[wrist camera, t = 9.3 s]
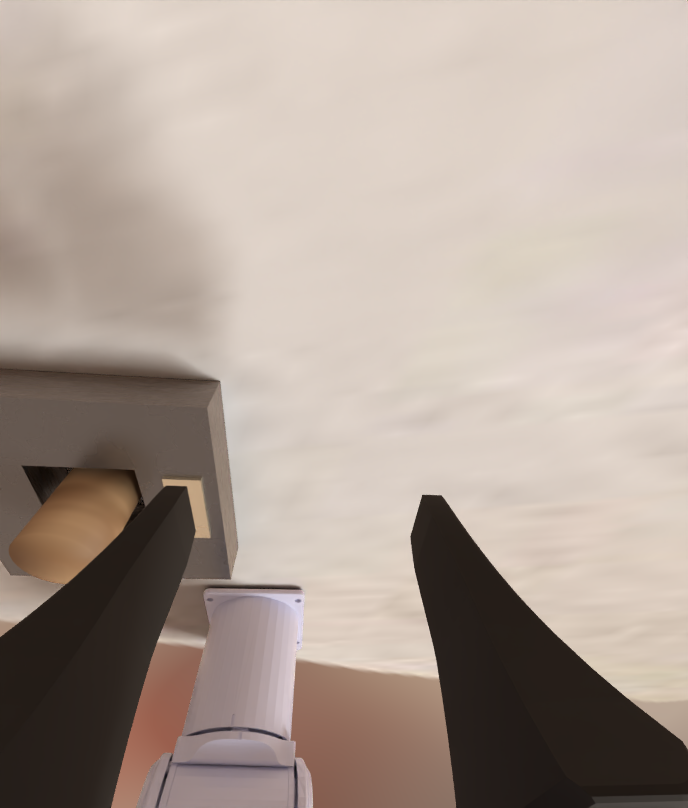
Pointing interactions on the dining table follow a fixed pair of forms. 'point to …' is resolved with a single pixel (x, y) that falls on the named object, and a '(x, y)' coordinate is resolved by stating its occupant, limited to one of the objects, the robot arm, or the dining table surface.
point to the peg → (76, 523)
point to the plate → (118, 450)
